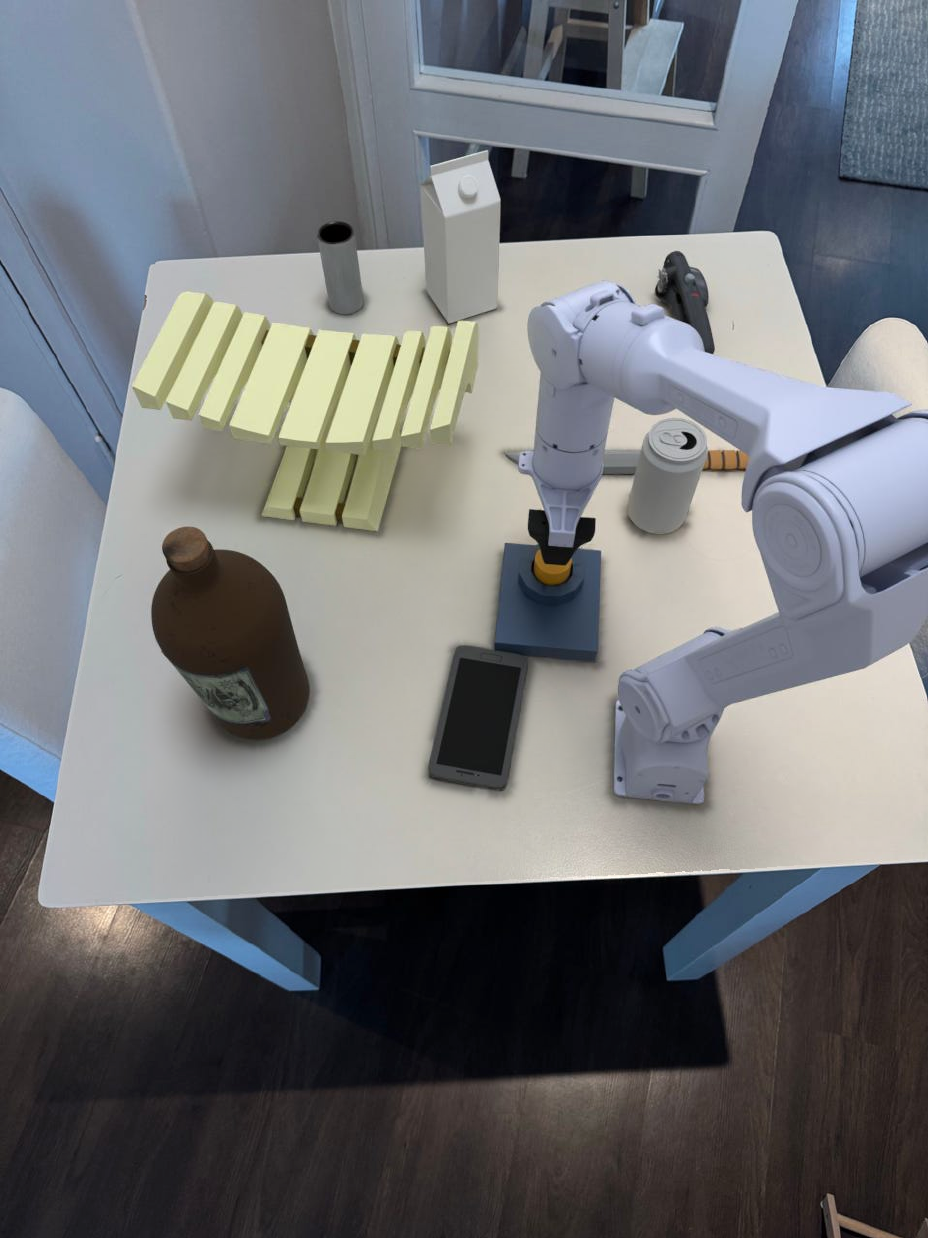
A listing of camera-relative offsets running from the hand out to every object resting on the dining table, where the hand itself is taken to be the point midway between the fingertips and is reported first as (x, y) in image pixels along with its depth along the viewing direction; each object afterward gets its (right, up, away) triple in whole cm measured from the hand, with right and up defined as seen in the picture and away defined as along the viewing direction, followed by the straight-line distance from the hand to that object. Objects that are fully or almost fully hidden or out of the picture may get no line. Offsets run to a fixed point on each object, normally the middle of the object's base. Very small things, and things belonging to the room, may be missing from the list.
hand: (557, 529), depth 78 cm
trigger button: (0, -3, +6) cm, 7 cm away
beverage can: (+12, +3, +14) cm, 19 cm away
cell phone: (-7, -18, +2) cm, 19 cm away
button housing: (0, -7, +8) cm, 11 cm away
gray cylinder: (-24, +33, +32) cm, 52 cm away
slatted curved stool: (-23, +9, +18) cm, 31 cm away
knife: (+11, +9, +18) cm, 23 cm away
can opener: (+20, +29, +29) cm, 46 cm away
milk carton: (-9, +33, +32) cm, 47 cm away
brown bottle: (-28, -16, +3) cm, 33 cm away
